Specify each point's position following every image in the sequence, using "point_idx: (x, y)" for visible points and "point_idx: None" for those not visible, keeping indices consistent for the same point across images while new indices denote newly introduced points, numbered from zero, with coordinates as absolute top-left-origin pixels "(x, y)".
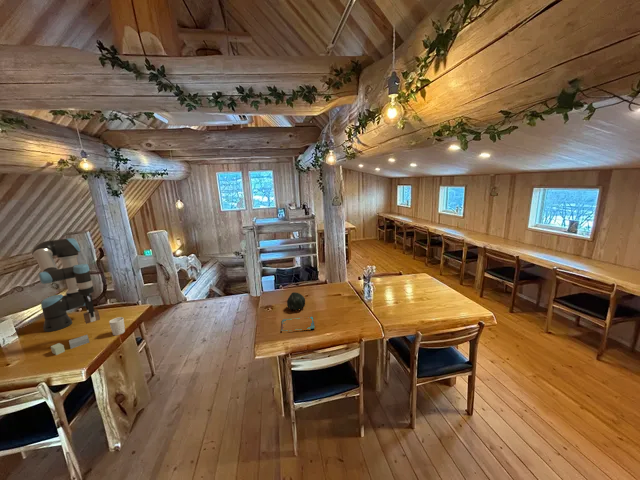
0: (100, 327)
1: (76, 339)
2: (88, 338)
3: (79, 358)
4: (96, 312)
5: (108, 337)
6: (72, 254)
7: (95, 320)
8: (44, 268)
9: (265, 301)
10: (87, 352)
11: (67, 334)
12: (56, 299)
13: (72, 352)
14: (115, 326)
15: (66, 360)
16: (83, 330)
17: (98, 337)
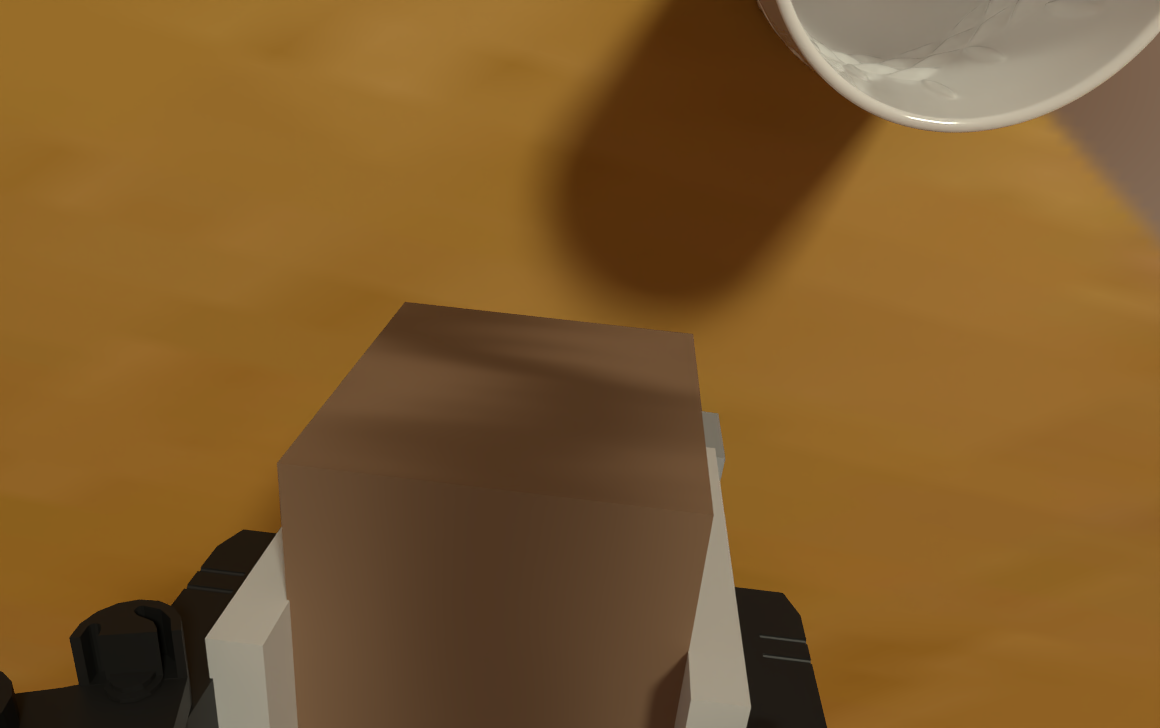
0: (149, 95)
1: None
2: (724, 456)
3: (1157, 632)
4: (695, 561)
5: (858, 157)
6: None
7: (711, 464)
8: None
9: None
10: (1086, 530)
11: (29, 507)
12: None
13: (835, 628)
14: (1076, 18)
15: (1014, 718)
16: (47, 328)
17: (654, 269)
